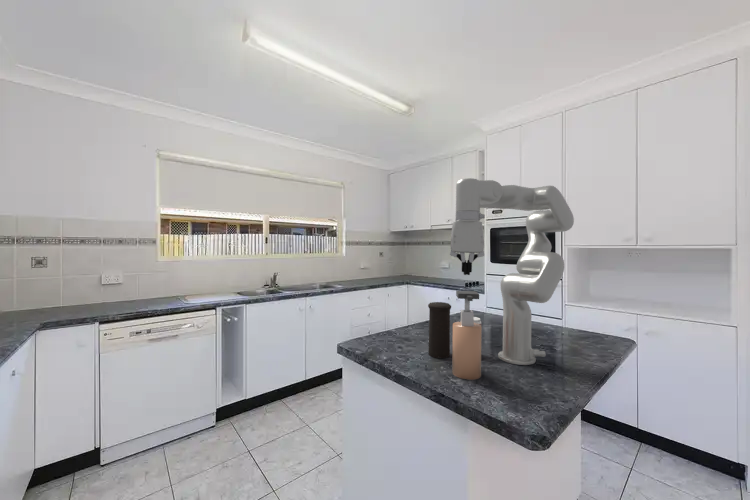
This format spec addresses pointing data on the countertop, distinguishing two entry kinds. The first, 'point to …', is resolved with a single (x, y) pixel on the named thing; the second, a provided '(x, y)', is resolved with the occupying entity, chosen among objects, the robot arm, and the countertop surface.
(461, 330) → the pump dispenser
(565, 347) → the countertop surface
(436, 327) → the container
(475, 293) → the pump head
